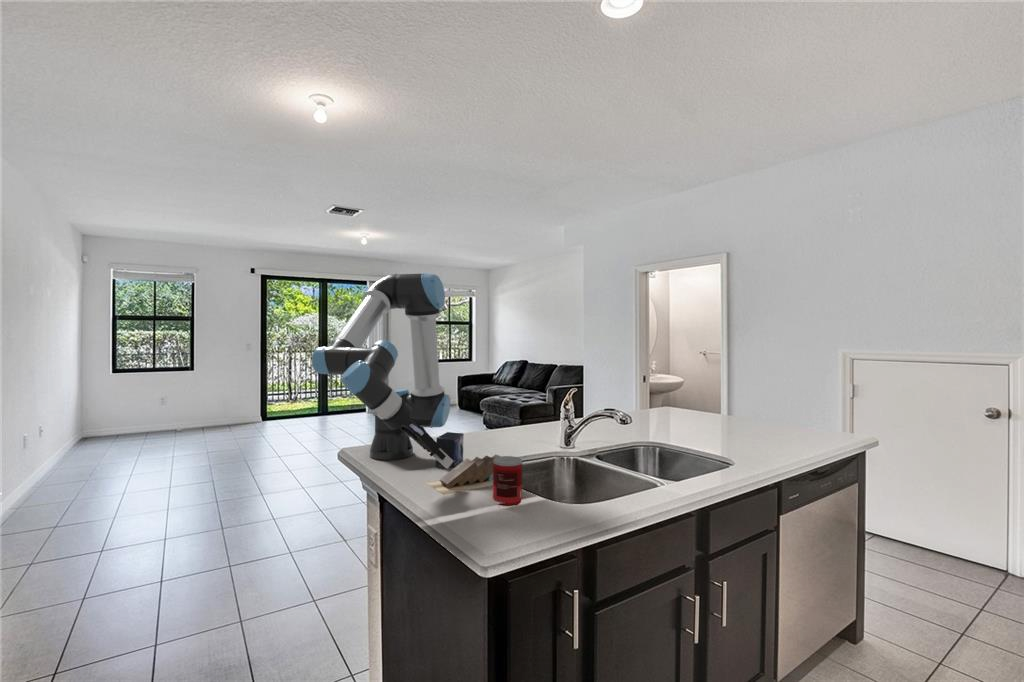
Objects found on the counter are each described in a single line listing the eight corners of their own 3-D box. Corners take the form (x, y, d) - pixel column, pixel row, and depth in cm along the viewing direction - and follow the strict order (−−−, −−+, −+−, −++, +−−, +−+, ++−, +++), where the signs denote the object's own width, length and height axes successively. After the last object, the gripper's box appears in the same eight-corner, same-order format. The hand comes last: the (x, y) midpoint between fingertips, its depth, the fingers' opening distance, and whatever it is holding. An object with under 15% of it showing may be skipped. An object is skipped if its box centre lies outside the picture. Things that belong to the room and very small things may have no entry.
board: (425, 486, 140) (425, 482, 140) (477, 477, 150) (477, 473, 150) (443, 498, 130) (443, 494, 130) (498, 487, 140) (498, 484, 140)
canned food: (511, 494, 134) (511, 454, 134) (528, 503, 127) (528, 461, 127) (487, 499, 130) (487, 458, 130) (502, 508, 123) (503, 465, 123)
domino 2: (449, 477, 141) (476, 456, 146) (452, 482, 141) (479, 461, 146) (457, 482, 137) (485, 460, 141) (460, 486, 137) (487, 465, 142)
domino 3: (460, 475, 143) (486, 455, 147) (462, 480, 143) (488, 459, 148) (468, 480, 138) (494, 459, 143) (470, 484, 139) (497, 463, 144)
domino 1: (439, 479, 139) (466, 458, 144) (441, 483, 139) (469, 462, 144) (447, 484, 135) (475, 462, 140) (449, 488, 135) (477, 466, 140)
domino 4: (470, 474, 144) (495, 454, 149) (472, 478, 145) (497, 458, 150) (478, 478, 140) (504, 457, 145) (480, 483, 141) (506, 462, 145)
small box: (454, 472, 155) (454, 439, 155) (434, 470, 157) (435, 438, 157) (464, 463, 166) (464, 432, 166) (445, 462, 167) (446, 431, 167)
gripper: (374, 417, 133) (431, 469, 142) (390, 424, 122) (451, 481, 131) (393, 396, 135) (447, 449, 145) (411, 402, 124) (468, 458, 134)
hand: (449, 464), depth 138 cm, fingers closed
